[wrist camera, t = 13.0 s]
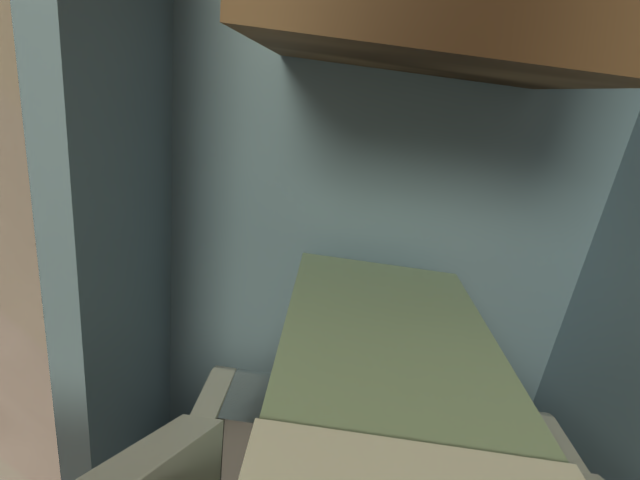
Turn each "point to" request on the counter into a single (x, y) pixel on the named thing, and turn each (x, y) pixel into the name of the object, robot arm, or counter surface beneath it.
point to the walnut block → (457, 37)
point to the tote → (310, 214)
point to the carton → (394, 385)
